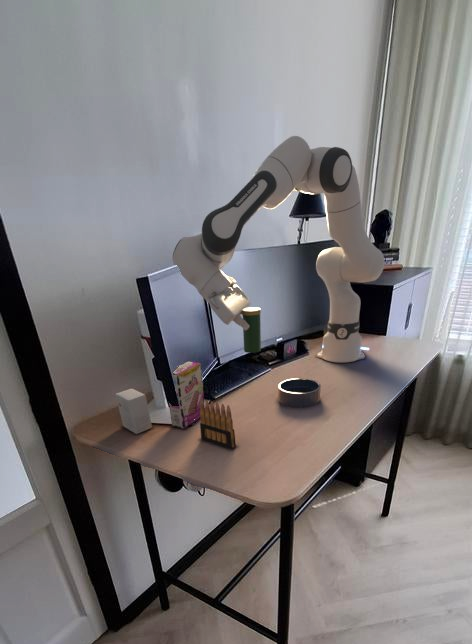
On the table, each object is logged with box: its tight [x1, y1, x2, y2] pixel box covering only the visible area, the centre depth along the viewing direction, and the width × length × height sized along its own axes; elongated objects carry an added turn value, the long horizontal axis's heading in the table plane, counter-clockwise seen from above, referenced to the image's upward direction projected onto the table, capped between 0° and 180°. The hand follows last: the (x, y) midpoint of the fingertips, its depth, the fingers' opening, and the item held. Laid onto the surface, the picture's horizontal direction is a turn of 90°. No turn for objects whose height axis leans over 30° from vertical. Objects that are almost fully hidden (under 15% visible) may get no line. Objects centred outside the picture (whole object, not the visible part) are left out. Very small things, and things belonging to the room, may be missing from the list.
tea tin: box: [241, 306, 262, 354], centre depth 121 cm, size 5×5×12 cm
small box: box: [114, 388, 153, 435], centre depth 117 cm, size 8×6×10 cm
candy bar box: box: [168, 361, 205, 430], centre depth 117 cm, size 11×5×16 cm, turn 149°
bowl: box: [277, 377, 322, 409], centre depth 128 cm, size 13×13×5 cm
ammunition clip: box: [199, 398, 237, 450], centre depth 105 cm, size 11×2×12 cm, turn 53°
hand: (251, 325), depth 120 cm, fingers closed on tea tin, 5 cm apart
